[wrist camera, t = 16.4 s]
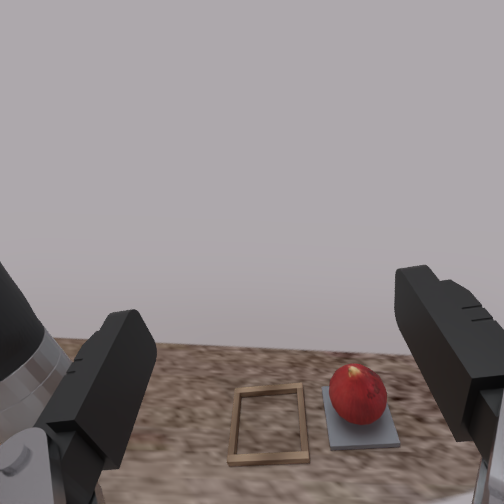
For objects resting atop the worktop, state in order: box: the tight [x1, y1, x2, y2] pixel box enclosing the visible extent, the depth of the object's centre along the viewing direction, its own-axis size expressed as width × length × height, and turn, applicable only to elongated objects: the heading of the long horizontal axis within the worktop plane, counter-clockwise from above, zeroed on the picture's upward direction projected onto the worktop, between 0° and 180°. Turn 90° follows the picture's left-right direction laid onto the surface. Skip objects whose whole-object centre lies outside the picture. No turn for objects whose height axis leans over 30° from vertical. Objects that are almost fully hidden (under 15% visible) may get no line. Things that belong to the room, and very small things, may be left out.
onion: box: [329, 364, 387, 425], centre depth 33 cm, size 6×6×8 cm
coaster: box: [322, 386, 400, 450], centre depth 36 cm, size 7×7×1 cm
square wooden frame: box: [227, 383, 310, 466], centre depth 37 cm, size 9×9×1 cm
